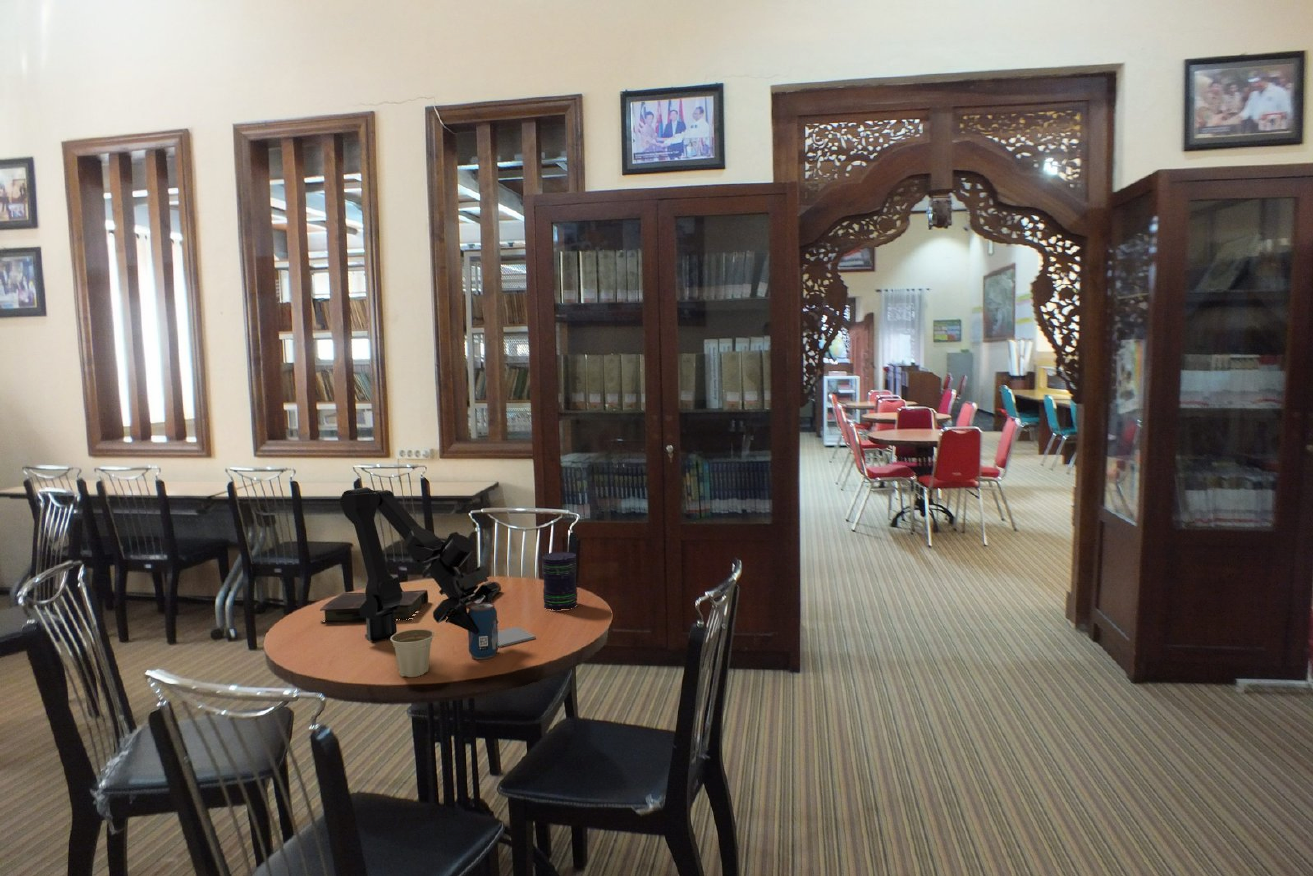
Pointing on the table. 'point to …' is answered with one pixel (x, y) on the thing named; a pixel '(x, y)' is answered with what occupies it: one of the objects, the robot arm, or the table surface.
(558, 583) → the storage jar
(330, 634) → the table surface
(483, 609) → the soda can
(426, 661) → the flower pot
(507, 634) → the coaster
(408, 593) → the diary
